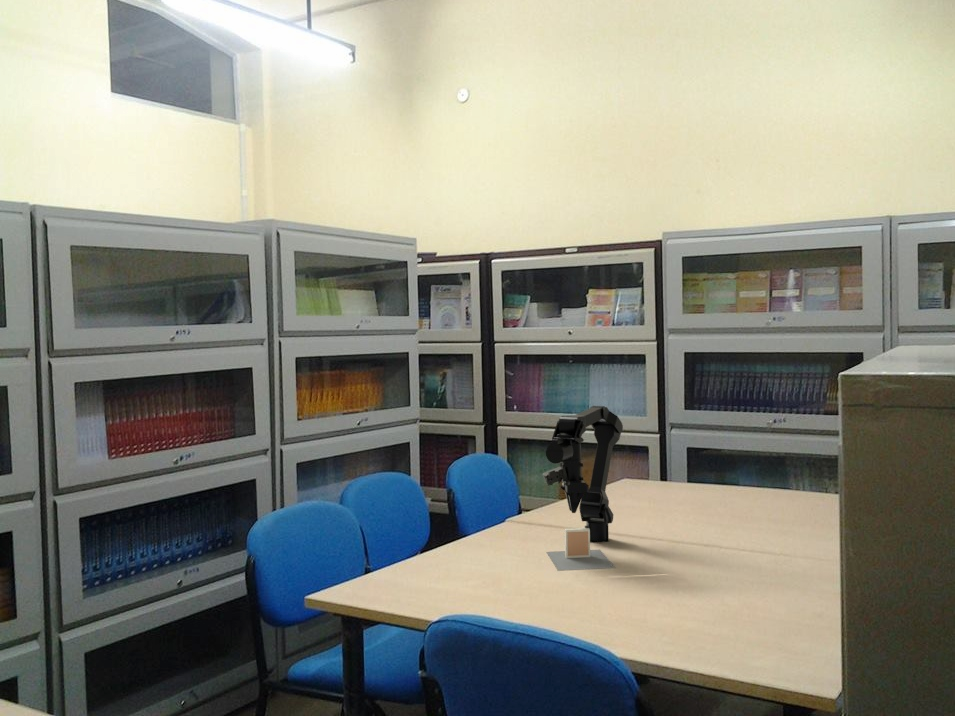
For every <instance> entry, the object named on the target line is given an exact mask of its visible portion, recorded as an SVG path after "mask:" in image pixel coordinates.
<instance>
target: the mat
mask: <svg viewBox="0 0 955 716" xmlns="http://www.w3.org/2000/svg"><path fill="white" fill-rule="evenodd" d="M545 552H546V554H547V556H548V557H549V559H550V561H551V562H552V564H553V565H554V567H555V569H556V570H557V572H561V571H580V570H581V571H582V570H583V571H584V570H586V571H587V570H605V569H617V567H616V566H615V565H614V564H613V563H612V562H611V560H610V559H609V558H608V557H607V556H606V555H605V554H604V553H603V551H602V550H601V549H590V557H578V558H566V557H565V550H557V551H556V550H555V551H545Z"/></svg>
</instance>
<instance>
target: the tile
mask: <svg viewBox="0 0 955 716" xmlns="http://www.w3.org/2000/svg"><path fill="white" fill-rule="evenodd" d="M590 550H591V543H590V529H589V528H585V527H584V528H583V527H582V528H581V527H580V528H579V527H577V528H564V551H565V557H566V558H578V557H590Z"/></svg>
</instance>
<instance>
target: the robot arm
mask: <svg viewBox="0 0 955 716" xmlns="http://www.w3.org/2000/svg"><path fill="white" fill-rule="evenodd" d="M589 426H591V427H592V428H593V430H594V432H593V435H594V437H595V441H596V443H597V444H596V449H595V456H594V462H593V467H592V474H591V478H590V484H587V482H585V480H584V477H583V474H582V470H583V468H582V467H584V462H582V443H583V442H584V440H585V439H584V438H583V437H582V436H583V434H584V433H585V432H586V431H587V428H588V427H589ZM623 426H624V425H623V422H622V421H621V419H620V417H619V416H618V415H616V414H615V413H613V412H612V411H610V410H609V408H608V407H607V406H605V405H592V406H590V407H589V408H587V409H585V410H583V411H581V412H578V413H577V414H574V415H573V414H570V415H569V414H568V415H567V414H565V415H561V416H559V418H558V420H557V422H556V425H555V427H554V432H553V434H552V437H551V443H550V444H548V446H547V447H546V450H545V457H546V459H547V460H548V461H549V462H550V463H551V464H559V466H558V467H556V468H555V467H554V468H552V469H550V470H547V471H545V472H543V473H542V474H541V475H542V477H543V480H544V482H545V484H546V485H547V486H552V485H553V484H555V483H557V484H560V483H561V484H562V485H559V487H560V489H561V490H563V491H564V493H565V496H566V501H567V505H568V510H569V511H570V512H571V513H572V514H576V513H577V511H578V508H579V514H580V519H581V522H585V523H586V525H584V528H589V529H590V544H591V543H609V542H611V541H610V540H609V524H612V523H613V522H614V513H613V512H612V510H611V508H610V506H609V504H610V502H609V501H610V500H609V497H608V495H607V493H606V488H607V484H608V483H607V482H608V477H609V471H610V466H611V459H612V454H613V449H614V446H615V445H616V444H617V443H618V442H619V441H620V438H621V434H622V432H623V428H624V427H623ZM589 485H590V486H589Z"/></svg>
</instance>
